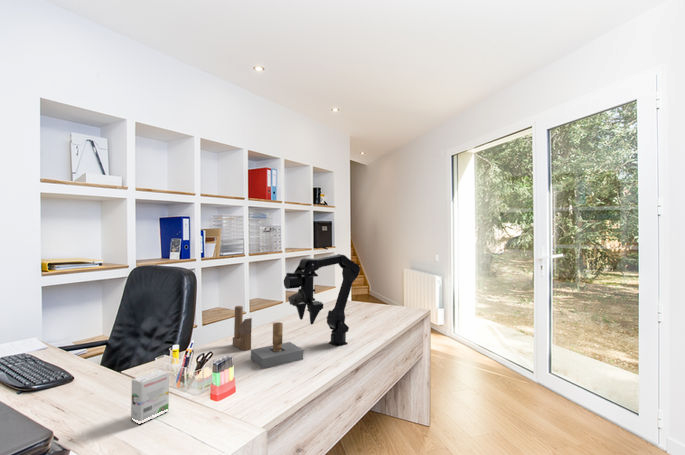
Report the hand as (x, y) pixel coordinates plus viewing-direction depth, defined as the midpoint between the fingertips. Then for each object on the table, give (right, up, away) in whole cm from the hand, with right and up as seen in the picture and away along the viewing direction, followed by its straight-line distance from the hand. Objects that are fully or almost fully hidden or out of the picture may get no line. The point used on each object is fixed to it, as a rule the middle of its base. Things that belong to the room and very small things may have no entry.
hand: (306, 321), depth 154 cm
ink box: (-39, -12, -55) cm, 69 cm away
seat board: (-11, -13, -10) cm, 20 cm away
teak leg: (-11, -12, -10) cm, 19 cm away
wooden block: (-30, -13, +3) cm, 33 cm away
